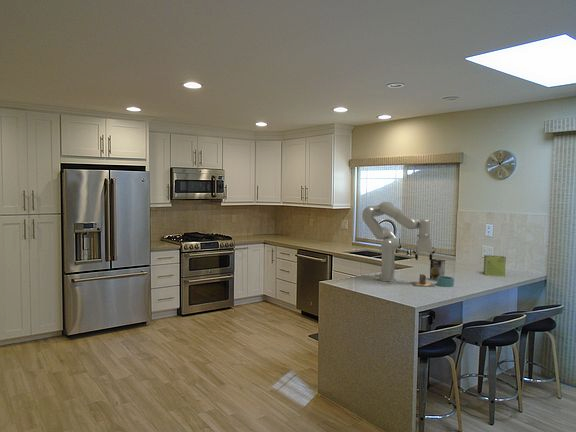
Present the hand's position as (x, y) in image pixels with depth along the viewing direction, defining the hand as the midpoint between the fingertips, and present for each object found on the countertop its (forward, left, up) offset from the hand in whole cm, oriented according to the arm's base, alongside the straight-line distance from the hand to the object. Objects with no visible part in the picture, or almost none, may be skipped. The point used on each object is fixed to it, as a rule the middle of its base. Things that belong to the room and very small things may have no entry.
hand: (423, 260), depth 314 cm
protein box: (+69, +51, -19) cm, 88 cm away
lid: (0, 0, -18) cm, 18 cm away
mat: (0, 0, -18) cm, 18 cm away
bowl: (+16, 0, -18) cm, 24 cm away
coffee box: (+15, +19, -19) cm, 30 cm away
